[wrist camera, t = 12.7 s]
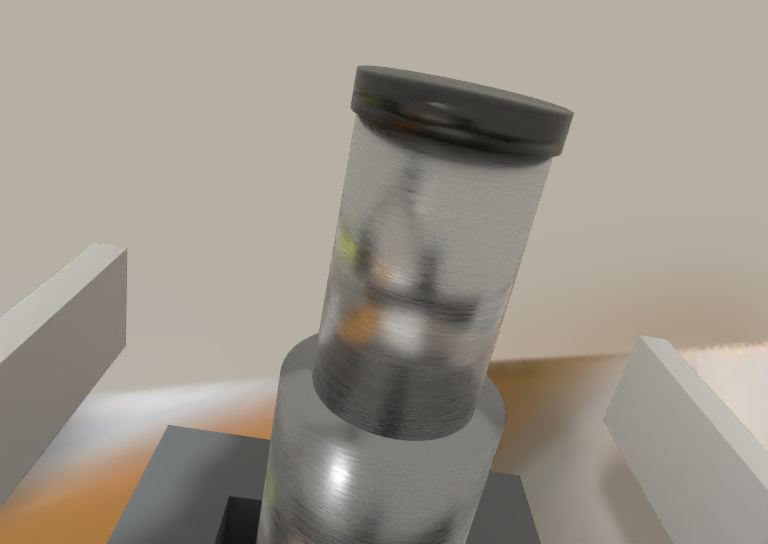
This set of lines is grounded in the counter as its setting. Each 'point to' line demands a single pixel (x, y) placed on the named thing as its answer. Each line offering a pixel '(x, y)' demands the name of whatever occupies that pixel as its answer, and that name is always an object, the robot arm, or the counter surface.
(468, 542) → the socket block
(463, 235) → the tube
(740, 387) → the counter surface
